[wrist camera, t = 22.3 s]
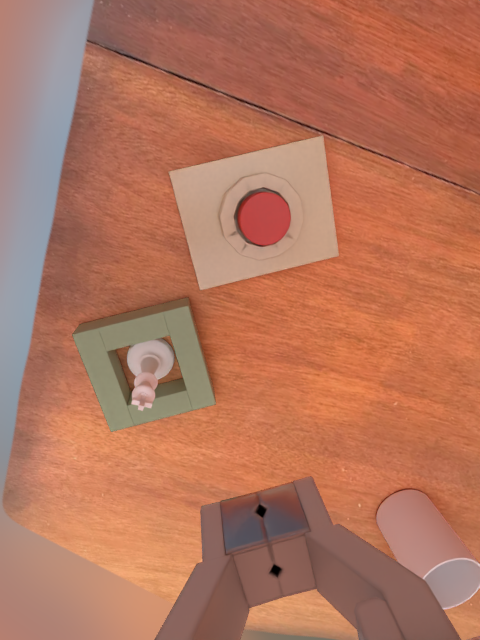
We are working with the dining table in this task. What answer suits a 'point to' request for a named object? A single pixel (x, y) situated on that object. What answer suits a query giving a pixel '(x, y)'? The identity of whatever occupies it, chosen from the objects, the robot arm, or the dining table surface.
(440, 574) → the mug
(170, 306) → the dock
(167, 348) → the chess piece
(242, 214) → the button
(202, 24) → the dining table surface
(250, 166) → the panel
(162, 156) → the dining table surface
